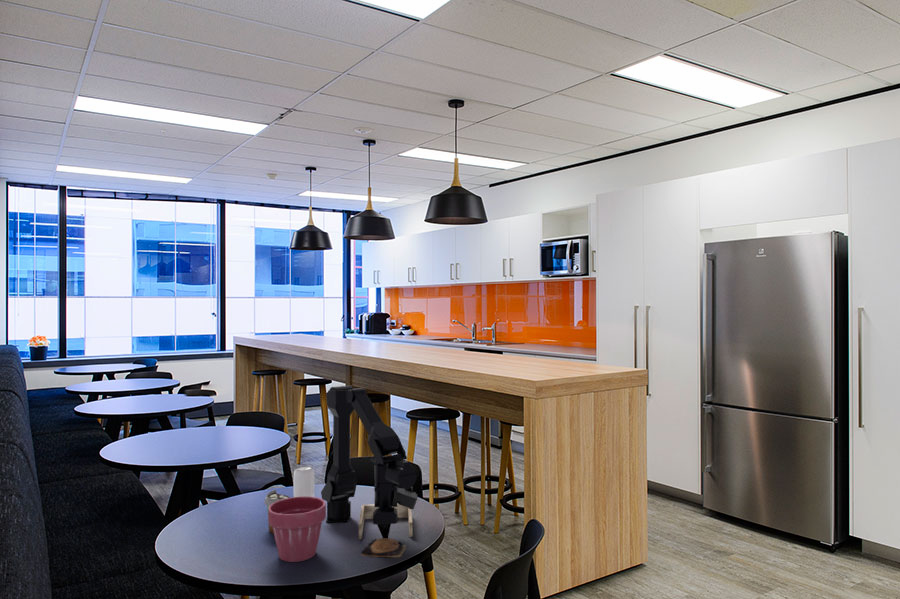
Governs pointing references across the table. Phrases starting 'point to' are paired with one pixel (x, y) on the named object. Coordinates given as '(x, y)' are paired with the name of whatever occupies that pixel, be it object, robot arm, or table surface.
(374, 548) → the bread roll
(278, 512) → the plant pot
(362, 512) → the frame
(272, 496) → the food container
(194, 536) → the table surface
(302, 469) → the can
